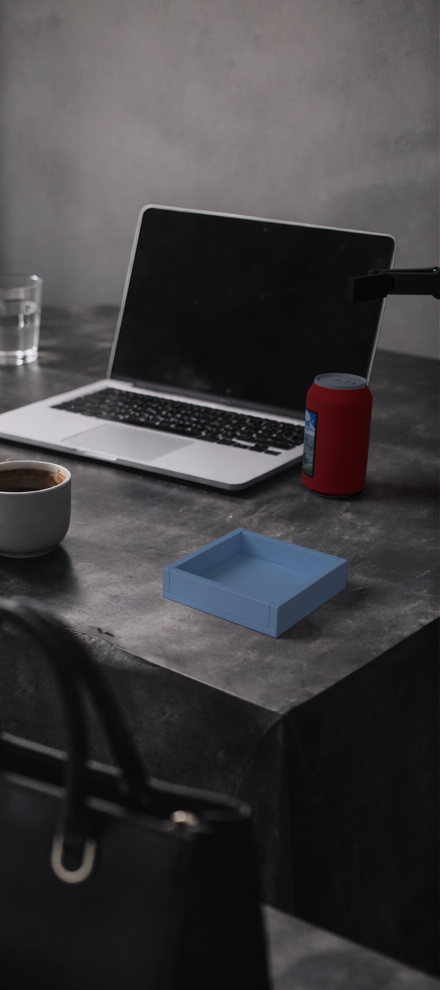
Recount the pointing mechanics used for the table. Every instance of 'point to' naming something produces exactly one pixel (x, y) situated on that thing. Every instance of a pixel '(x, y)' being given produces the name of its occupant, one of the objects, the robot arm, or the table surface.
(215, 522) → the table surface
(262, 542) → the tray
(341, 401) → the beverage can
